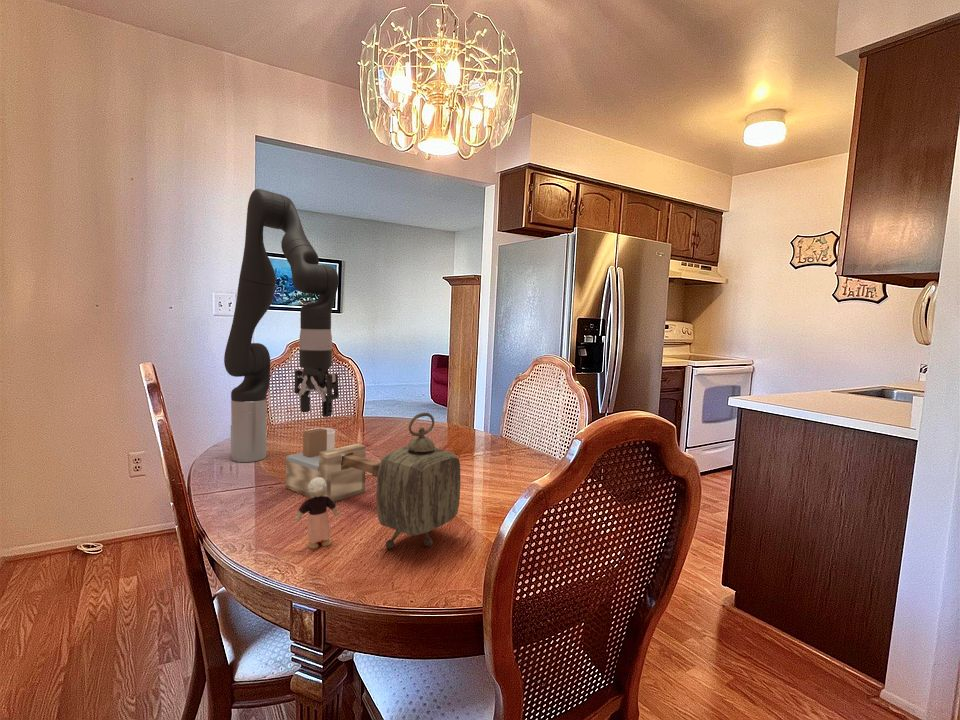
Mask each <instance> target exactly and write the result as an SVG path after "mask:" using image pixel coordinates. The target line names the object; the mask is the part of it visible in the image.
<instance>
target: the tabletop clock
mask: <svg viewBox="0 0 960 720" xmlns="http://www.w3.org/2000/svg"><path fill="white" fill-rule="evenodd" d="M423 417H428V418H430V420H431V425H430V427H428V429H426V430H425V428H424V427H420V428H419V429H418V432H414V431H413V430H412V426H413V424H414V422H415V421H416V420H417V419H419V418H423ZM434 426H435V419H434V416H433V415H432V414H431V413H429V412H421V413H418V414H416V415H414V416H413V417H412V418H411V420H410V421H409V424H408V431H409V433H410V435H412V436H414V437H413V438H412V439H411V440H410V441H409V443H408V444H407V446H403V447H400V448H398V449H395V450H393V451H390V452H388V453H387V454H385V455H384V456H383V457H382V458H381V459H380V462H379V463H380V466H379V471H378V476H377V480H376V492H375V495H376V512H377V518H378V522H379V524H380V525H381V526H384V527H387V528H389V529H393V530H395V532H394V533H393V536H392V537H391V539H387V540H386V541H385V542H384V543H385V547H386V549H389V550H390V549H393V547H394V546H395V540H396V539H397V537H398V536H399V535H400V534H401V533H403V534H406V535H409V536H419V535H422V534H424V535H425V538H424V540H423V543H424V546H426V547H431V546H432V545H433V542H434V541H433V539H432V538H431V537H430V534H429V532H430V531H433V530H435V529H438V528H440V527H442V526H443V525H446V524H447V523H449V522H451V521H452V520H453V519H454V518H455V517H456V516H457V515H458V511H459V508H460V507H459V506H460V496H461V464H460V459H459V458H458V456H457V455H456V454H455V453H454V452H453V451H450V450H445V449H441V448H436V446H435V444H434V441H433V440H431V439H430V437H427V436H425V435H427V434H429V433H430V432H431V431H432V430H433V428H434Z"/></svg>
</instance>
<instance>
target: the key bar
mask: <svg viewBox="0 0 960 720" xmlns="http://www.w3.org/2000/svg"><path fill="white" fill-rule="evenodd" d="M342 464H343V465H347V466H350V467H353V468H356V469H359V470H363V471H365V473H370V474H371V475H372V477H375V478H376V477H377V478H378V471H379V466H380V462H379V461H378V462H377V461H375V460H371V459H367V458H366V459H365V458H361V457H358V456H354V455H351V454H349V455H345V456H342Z"/></svg>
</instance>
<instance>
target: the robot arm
mask: <svg viewBox="0 0 960 720" xmlns="http://www.w3.org/2000/svg"><path fill="white" fill-rule="evenodd" d="M246 211H247V212H246V220H245V221H246V225H245V239H244V248H243V255H242V256H243V257H242V261H241V266H240V267H241V268H240V273H239V278H238V286H237V292H236V293H237V295H236V300H235V307H234V312H233V319H232V324H231V327H230V330H229V335H228V338H227V341H226V345H225V346H226V347H225V350H224V357H223V365H224V368H225V370H226V373H228V375H230V376H231V377H233V378H234V377H235V378H238V377H240V378H241V377H243V380H242V381H241V383H240V384H239V385H237V386H236V387H234V388H233V389H232V390H231V392H230V404H231V405H230V410H231V411H230V412H231V414H230V417H231V420H230V421H231V423H230V458H231V460H232V461H233V462H239V463H251V462H257V461H262V460H264V459H266V458H267V393H268V391H269V388H270V378H271V375H270V374H271V355H270V351H269V350H268V348H267V347H266V345H264V344H262V343H259V342H252V341H253V336H254V333H255V330H256V327H257V326H258V324H259V323H260V321H261V320H262V318H263V317H264V315H266V313H267V311H268V310H269V308H270V306H271V305H272V303H273V301H274V297H275V296H274V295H275V291H276V290H275V289H276V284H277V276H276V272H275V269H274V267H273V264H272V262H271V260H270V258H269V256H268V254H267V250H266V247H265V244H264V228H265V227H267V228H271V229H275V230H282V232H284V235H283V236H282V239H281V241H280V243H281V251H282V253H283V255H284V257H285V259H286V260H287V262H288V264H289V266H290V271H291V278H292V282H291V283H292V285H293V287H294V288H295V290H297V291H298V292H299V293H303V294H307V295H308V294H311V295H312V294H313V295H318V298H317V300H316V301H315V302H312V303H306V304H303V305H302V306H301V308H300V318H299V320H300V332H299V339H298V340H299V343H298V345H299V349H298V350H299V354H298V355H299V358H298V359H299V364H298V365H299V367H300V369H295V370H294V382H293V383H294V386H293V387H294V388H293V392H294V394H297V395H298V397H299V398H300V401H299V402H300V404H299V405H300V412H301V413H309V412H310V411H311V396H310V395H311V393H312V391H316V393H317V394H319V395H320V397H321V400H322V401H321V408H322V409H321V416H322V417H324V418H328V417H331V416H332V413H333V401H334V400H337V399H339V397H340V395H339V375H338V373H329V370H330V368H332V366H333V335H332V310H333V306H334V303H335V298H336V295H337V292H338V289H339V282H340V280H339V279H340V278H339V273H338V271H337V270H336V269H335V268H334V266H332V265H327V264H326V265H325V264H319V262H320V260H319V259H320V258H319V256H318V253H317V252H316V250H315V248H314V247H313V245H312V243H311V242H310V241H309V238H308V237H307V235H306V233H305V231H304V227H303V225H302V222H301V219H300V216H299V214H298V211H297V207H296V206H295V204H294V202H293V200H292V199H291V198H289V197H288V196H286V195H283V194H280V193H276V192H272V191H269V190H265V189H262V188H255V189H254V190H252V192H251V193H250V196H249V199H248V202H247V209H246ZM301 368H302V369H301ZM332 390H333V391H332ZM332 392H333V393H332Z"/></svg>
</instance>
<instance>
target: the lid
mask: <svg viewBox="0 0 960 720" xmlns="http://www.w3.org/2000/svg"><path fill="white" fill-rule="evenodd" d="M318 428H319V429H315V428H312V429H313V430H310V429H307V430H308V431H307V430H304V431H303V432H302V433H303V434H302V437H303V438H302V439H303V440H302V442H303V443H302V452H298V453H293V454H289V455H285V461H286V460H287V461H290V462H293V463H296V464H299V465H302V466H305V467H308V468H311V469H314V470H316V471H319V452H323V451H327V450H331V449H327V430H326V429H322V428H323V427H318ZM342 456H345V454H343V455H341V465H343V464H342Z"/></svg>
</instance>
